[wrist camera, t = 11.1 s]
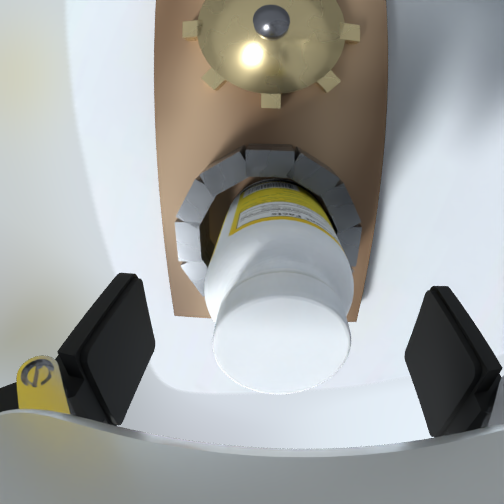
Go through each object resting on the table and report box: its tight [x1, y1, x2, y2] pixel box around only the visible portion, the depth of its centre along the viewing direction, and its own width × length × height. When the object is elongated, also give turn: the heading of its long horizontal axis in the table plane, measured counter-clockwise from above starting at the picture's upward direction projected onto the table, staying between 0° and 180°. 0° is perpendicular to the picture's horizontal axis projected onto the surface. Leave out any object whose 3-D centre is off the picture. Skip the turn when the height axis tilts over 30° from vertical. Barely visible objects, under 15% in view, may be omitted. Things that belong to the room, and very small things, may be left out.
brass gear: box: [182, 0, 360, 108], centre depth 12 cm, size 8×8×2 cm
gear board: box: [154, 0, 388, 322], centre depth 16 cm, size 12×22×2 cm, turn 0°
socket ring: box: [175, 143, 362, 297], centre depth 16 cm, size 9×9×2 cm
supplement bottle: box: [204, 178, 354, 394], centre depth 13 cm, size 5×5×10 cm
